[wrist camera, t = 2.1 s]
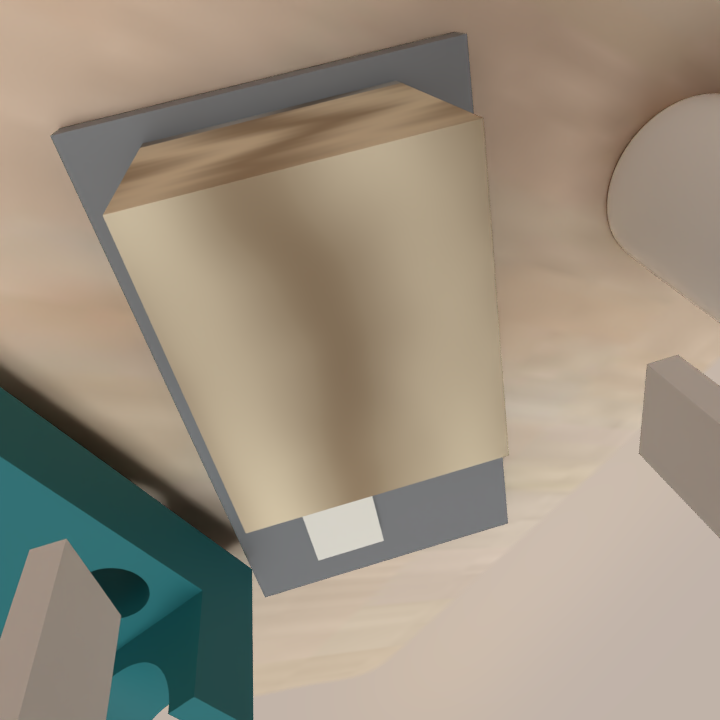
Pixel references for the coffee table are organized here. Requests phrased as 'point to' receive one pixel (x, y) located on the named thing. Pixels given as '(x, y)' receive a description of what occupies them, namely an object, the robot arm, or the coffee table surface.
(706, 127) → the candle holder
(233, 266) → the block
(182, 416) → the board
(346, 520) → the white square tile
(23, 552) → the teal l-shaped bracket
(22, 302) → the coffee table surface
